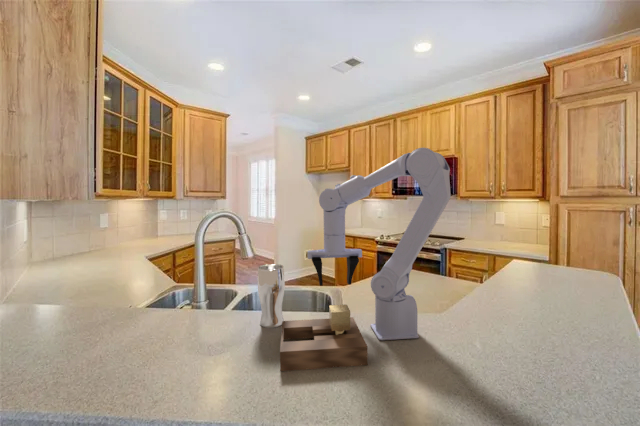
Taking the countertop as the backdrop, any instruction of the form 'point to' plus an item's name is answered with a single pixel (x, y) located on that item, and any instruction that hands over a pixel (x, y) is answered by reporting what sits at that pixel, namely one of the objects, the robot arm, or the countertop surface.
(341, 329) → the brass peg
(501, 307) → the countertop surface
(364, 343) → the keyhole board
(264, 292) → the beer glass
